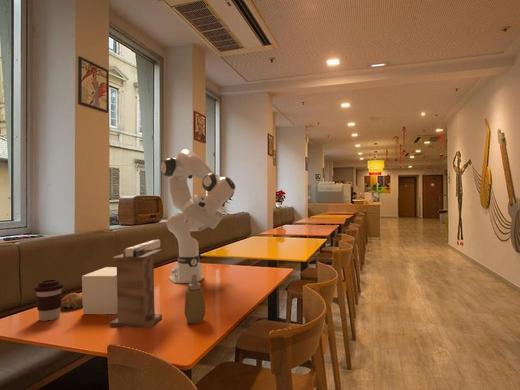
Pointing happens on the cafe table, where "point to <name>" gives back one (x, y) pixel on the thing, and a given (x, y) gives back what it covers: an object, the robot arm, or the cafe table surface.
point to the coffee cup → (49, 299)
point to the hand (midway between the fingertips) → (191, 226)
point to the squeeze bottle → (194, 302)
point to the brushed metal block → (142, 247)
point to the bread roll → (71, 302)
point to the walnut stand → (136, 290)
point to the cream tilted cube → (100, 291)
